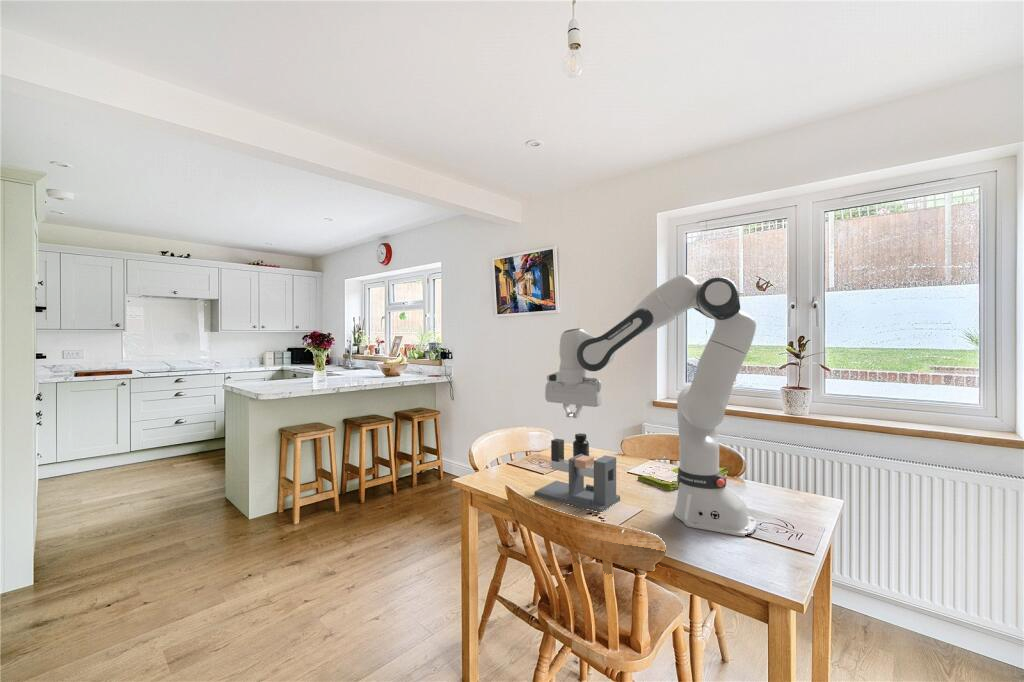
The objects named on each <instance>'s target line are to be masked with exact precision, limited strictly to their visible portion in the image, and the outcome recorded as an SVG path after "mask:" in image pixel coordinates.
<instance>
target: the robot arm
mask: <svg viewBox="0 0 1024 682" xmlns="http://www.w3.org/2000/svg"><path fill="white" fill-rule="evenodd" d="M740 302H741V301H740V294H739V290H738V287H737V286H736V284H735V283H734V282H733V281H732V280H731V279H729V278H727V277H722V276H717V277H716V276H715V277H712V278H708V279H707V280H706V281H704V282H703V283H702V284H700V283H698V282H697V281H696V280H695V278H693V277H692V276H690V275H688V274H679V275H677V276H674V277H673V278H671V279H669V280H667V281H665V282H664V283H662V284H661V285H659V286H658V287H656V288H655V289H654V290H652V291H651V292H650V293H648V295H646V296H645V297H644V298H643V299H642V300H641V301H640V302H639V304H637V305H636V307H635V308H634V309H633V310H631V312H630V313H629V314H628V315H627V316H626V317H625V318H624V319H623V320H622V321H620V322H618V324H616V325H614V326H613V327H612V328H610V329H609V330H607V331H606V332H605V333H603V334H602V335H599V336H595V335H592V334H590V333H589V332H588V331H586V330H585V329H583V328H580V327H578V328H572V329H568V330H565V331H563V332H562V333H561V335H560V337H559V338H560V340H559V350H558V351H559V358H560V364H559V369H558V370H559V371H557V372H552V373H551V374H548V375H546V380H547V382H546V383H545V388H544V389H545V391H544V395H545V396H544V398H545V400H546V402H548V403H555V404H562V407H563V409H564V411H565V415H566V417H567V418H573V419H579V418H580V413H581V411H582V409H583V407H591V408H592V407H593V408H598V407H600V406H601V405H602V403H603V401H602V400H603V399H602V391H601V389H602V385H601V381H600V380H599V379H597V378H596V377H593V378H591V377H587V375H586V373H587V371H589V372H598V371H601V370H602V369H603V368H605V367H606V366H608V365H610V364H611V363H612V361H613V360H614V358H615V354H616V353H615V352H616V351H617V350H619V349H620V348H622V347H623V346H624V345H626V344H627V343H629V342H630V341H631V340H633V339H635V338H636V337H638V336H640V335H642V334H644V333H647V332H650V331H655V330H657V329H660V328H661V327H664V326H666V325H667V324H669V323H671V322H673V321H674V320H675V319H677V318H678V317H679V316H680V315H682V314H683V313H685V312H686V311H688V310H691V309H694V310H695V311H697V312H699V313H700V314H702V315H703V316H705V317H706V318H708V319H712V320H713V321H714V328H713V330H712V333H711V334H710V337H709V338H708V341H707V342H706V344H705V347H704V349H703V351H702V354H701V356H700V358H699V360H698V362H697V365H696V369H695V372H694V376H693V379H692V382H691V384H690V386H687V387H685V388H683V389H682V390H681V391H680V393H678V396H677V402H676V403H677V404H676V407H677V411H676V412H677V426H678V427H677V429H678V438H679V439H678V440H679V466H678V467H679V468H678V467H677V468H678V475H677V480H678V486H679V490H677V498H676V503H675V507H674V510H673V515H674V516H675V518H677V519H679V520H680V521H682V522H683V523H684V525H685V526H686V527H689V528H693V529H694V528H695V529H700V530H705V531H711V532H716V533H722V534H728V535H733V536H738V537H746V536H745V535H747V534H749V533H750V532H752V531H754V530H755V528H756V526H757V527H758V524H757V520H756V518H754V517H753V516H750V515H749V512H748V507H747V504H746V502H745V500H744V499H743V498H742V497H740V496H739V495H738V494H736V493H735V492H734V491H733V490H732V489H731V488H729V486H728V485H727V477H728V474H726V475H723V474H722V473H721V472H720V471H719V468H720V443H719V438H718V433H717V431H718V430H717V427H718V426H719V425H721V423H722V422H723V420H724V418H725V415H726V413H725V412H726V409H727V405H728V404H729V400H730V398H731V393H732V390H733V386H734V383H735V381H736V378H737V375H738V374H739V372H740V369H741V367H742V365H743V363H744V362H745V359H746V357H747V355H748V352H749V350H750V348H751V345H752V343H753V339H754V336H755V333H756V330H757V329H756V328H757V324H756V323H757V322H756V320H755V319H754V318H753V317H752V316H751V315H750V314H748V313H746V312H745V311H741V303H740ZM571 405H573V406H574V405H575V409H576V410H575V412H573V411H571V409H570V406H571ZM756 529H757V528H756ZM755 531H756V530H755Z"/></svg>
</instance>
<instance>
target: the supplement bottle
mask: <svg viewBox="0 0 1024 682" xmlns="http://www.w3.org/2000/svg"><path fill="white" fill-rule="evenodd" d="M574 439H575V440H573V442H572V457H574V456H577V455H579V454H584V455H585V456H590V442H589V441H588V440H587V434H586V433H575V435H574Z"/></svg>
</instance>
